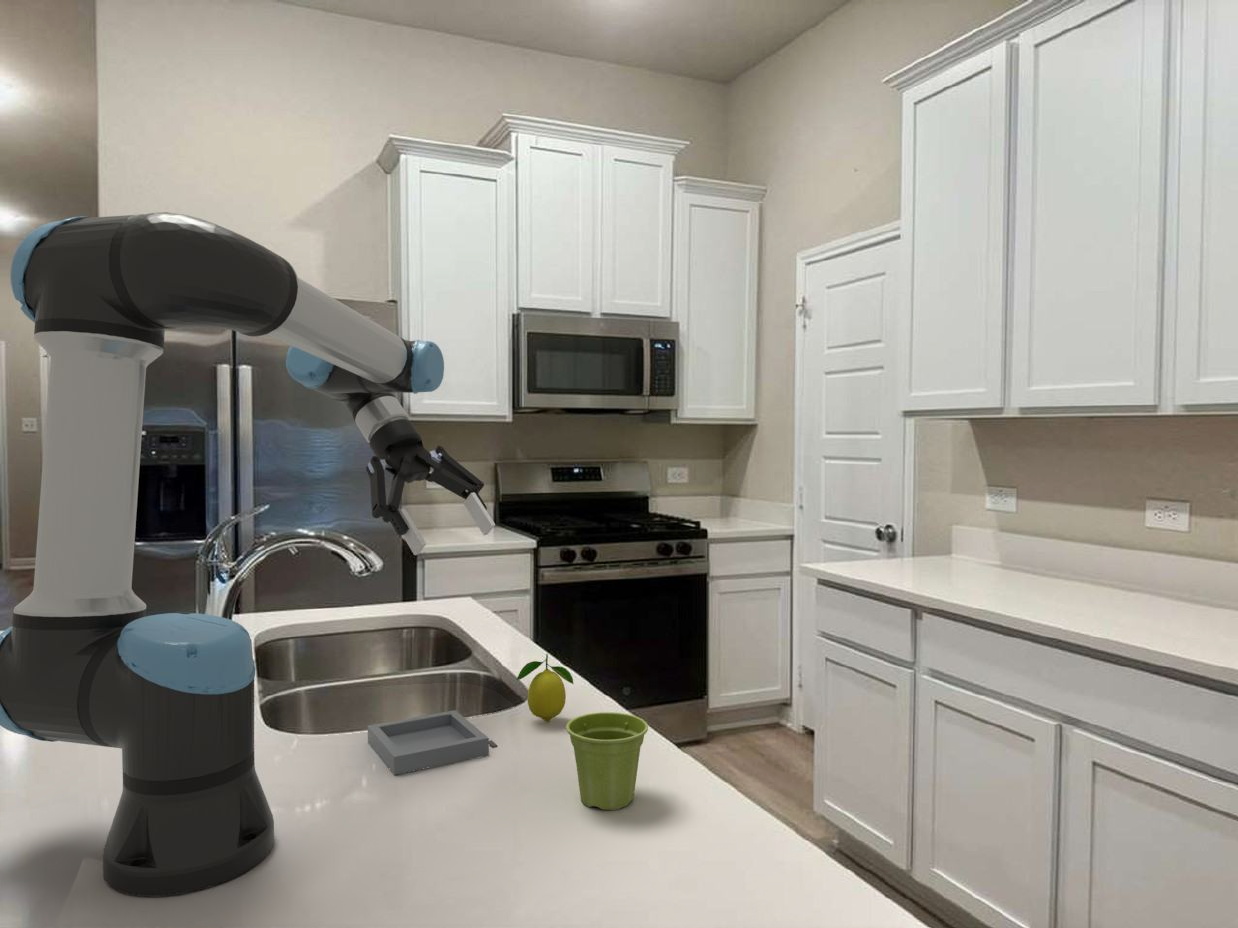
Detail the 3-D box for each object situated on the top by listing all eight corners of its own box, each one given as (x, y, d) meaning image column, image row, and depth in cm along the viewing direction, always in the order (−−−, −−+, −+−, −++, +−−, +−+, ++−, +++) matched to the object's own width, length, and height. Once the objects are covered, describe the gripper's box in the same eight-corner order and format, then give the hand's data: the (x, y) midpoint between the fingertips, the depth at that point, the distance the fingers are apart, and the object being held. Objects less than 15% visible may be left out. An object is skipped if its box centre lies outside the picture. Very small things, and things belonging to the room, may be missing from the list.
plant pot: (554, 789, 99) (555, 717, 98) (627, 776, 103) (628, 707, 102) (583, 824, 90) (583, 745, 90) (661, 809, 94) (662, 733, 94)
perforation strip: (497, 746, 112) (497, 744, 112) (492, 747, 112) (492, 745, 112) (472, 725, 120) (472, 724, 120) (468, 726, 119) (468, 725, 119)
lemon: (516, 726, 119) (516, 657, 119) (532, 713, 125) (532, 647, 125) (560, 731, 117) (560, 661, 117) (574, 718, 123) (574, 651, 123)
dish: (488, 755, 109) (488, 737, 109) (394, 775, 102) (394, 756, 102) (455, 725, 120) (455, 710, 119) (367, 742, 113) (367, 725, 113)
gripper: (440, 437, 144) (504, 536, 138) (310, 457, 125) (377, 573, 119) (460, 409, 140) (526, 509, 134) (328, 425, 121) (398, 543, 114)
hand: (456, 539), depth 126 cm, fingers open, 13 cm apart
